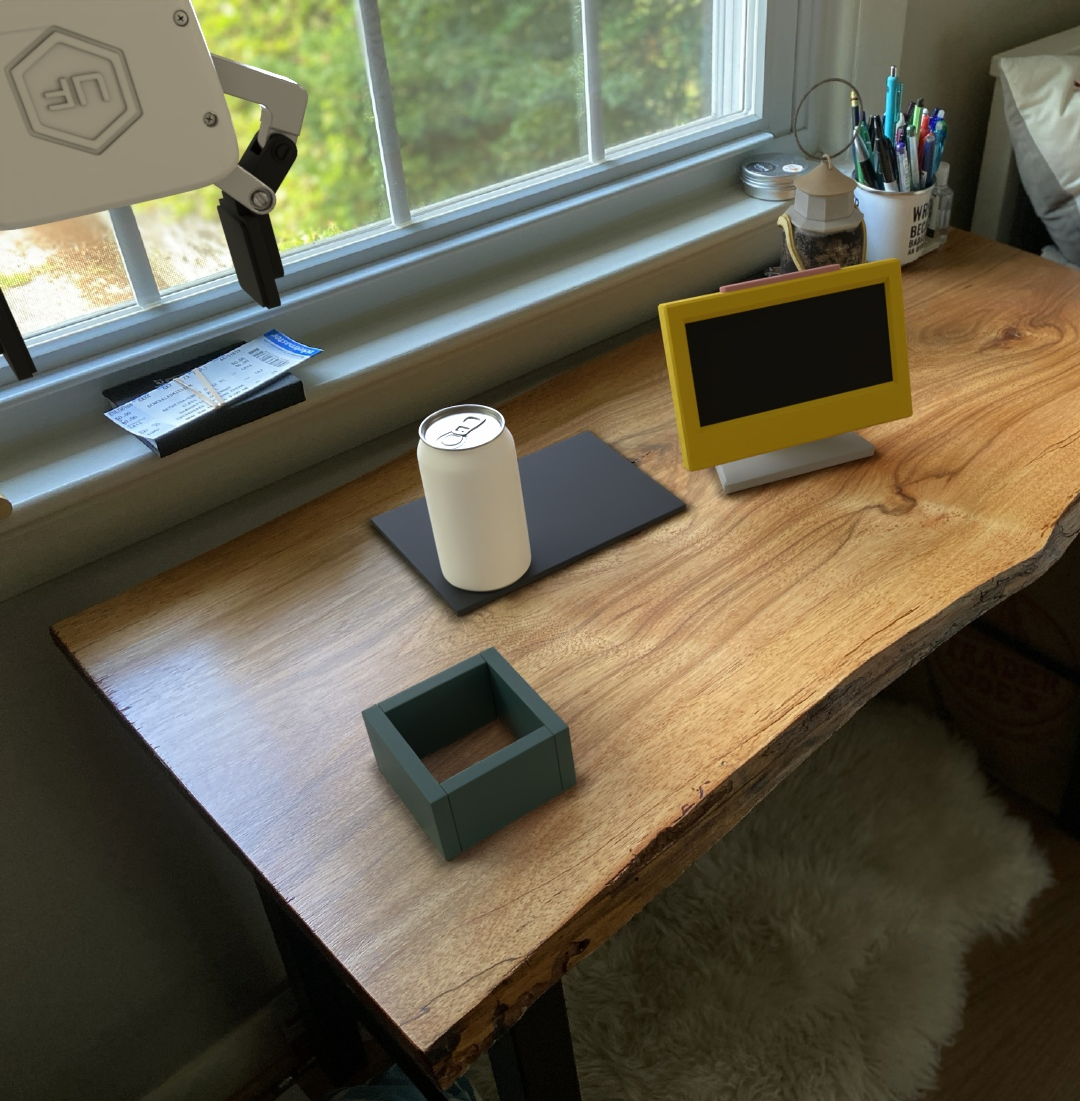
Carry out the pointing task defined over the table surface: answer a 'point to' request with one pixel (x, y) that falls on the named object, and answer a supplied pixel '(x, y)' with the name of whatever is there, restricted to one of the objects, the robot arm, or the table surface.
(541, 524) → the mat
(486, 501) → the can
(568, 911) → the table surface
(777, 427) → the yellow framed monitor
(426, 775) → the box
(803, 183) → the lantern
